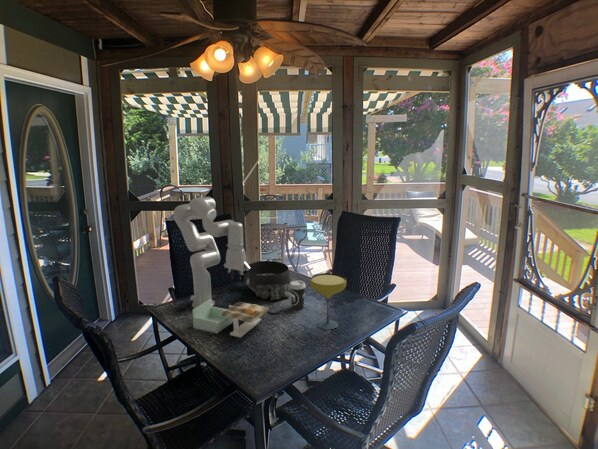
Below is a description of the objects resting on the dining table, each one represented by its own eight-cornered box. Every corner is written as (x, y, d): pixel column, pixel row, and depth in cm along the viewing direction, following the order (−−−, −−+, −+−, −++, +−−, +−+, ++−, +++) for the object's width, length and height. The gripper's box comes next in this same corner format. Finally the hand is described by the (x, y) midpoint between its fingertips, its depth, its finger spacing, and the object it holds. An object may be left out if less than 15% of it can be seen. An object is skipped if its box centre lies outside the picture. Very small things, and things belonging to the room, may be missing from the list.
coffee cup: (304, 312, 210) (304, 286, 207) (287, 310, 212) (287, 285, 209) (307, 305, 219) (307, 280, 216) (291, 303, 221) (290, 279, 218)
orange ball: (244, 316, 184) (244, 308, 184) (249, 313, 188) (248, 305, 187) (251, 318, 183) (251, 310, 182) (256, 314, 186) (255, 307, 186)
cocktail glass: (336, 315, 206) (336, 271, 201) (351, 329, 190) (352, 282, 184) (305, 320, 200) (304, 275, 195) (318, 336, 183) (318, 287, 178)
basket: (242, 303, 222) (241, 277, 219) (247, 282, 257) (246, 259, 253) (290, 302, 224) (290, 276, 220) (289, 281, 258) (289, 258, 255)
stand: (230, 335, 185) (229, 318, 184) (251, 318, 203) (251, 303, 201) (240, 337, 183) (239, 320, 181) (261, 320, 201) (260, 304, 199)
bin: (193, 328, 193) (192, 309, 191) (211, 316, 206) (210, 299, 204) (217, 333, 187) (216, 314, 185) (234, 321, 200) (233, 303, 198)
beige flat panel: (221, 316, 188) (221, 310, 187) (239, 304, 202) (239, 299, 202) (252, 322, 181) (252, 317, 180) (269, 309, 195) (268, 304, 194)
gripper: (217, 247, 192) (219, 280, 196) (246, 250, 185) (247, 285, 189) (226, 243, 199) (227, 276, 202) (254, 246, 192) (255, 280, 195)
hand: (237, 280), depth 195 cm, fingers open, 6 cm apart
